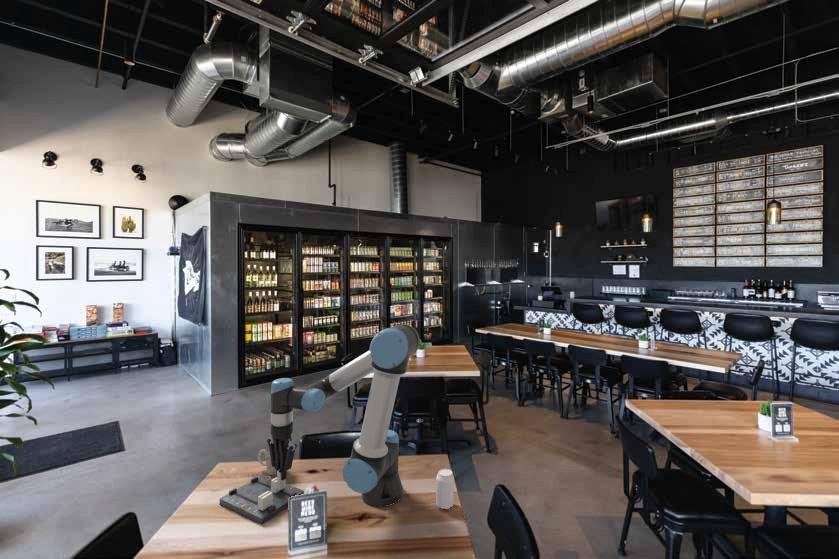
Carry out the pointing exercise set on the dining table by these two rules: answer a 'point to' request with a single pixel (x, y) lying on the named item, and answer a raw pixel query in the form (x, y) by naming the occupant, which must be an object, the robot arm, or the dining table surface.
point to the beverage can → (444, 488)
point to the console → (247, 499)
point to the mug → (267, 461)
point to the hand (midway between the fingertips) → (281, 487)
